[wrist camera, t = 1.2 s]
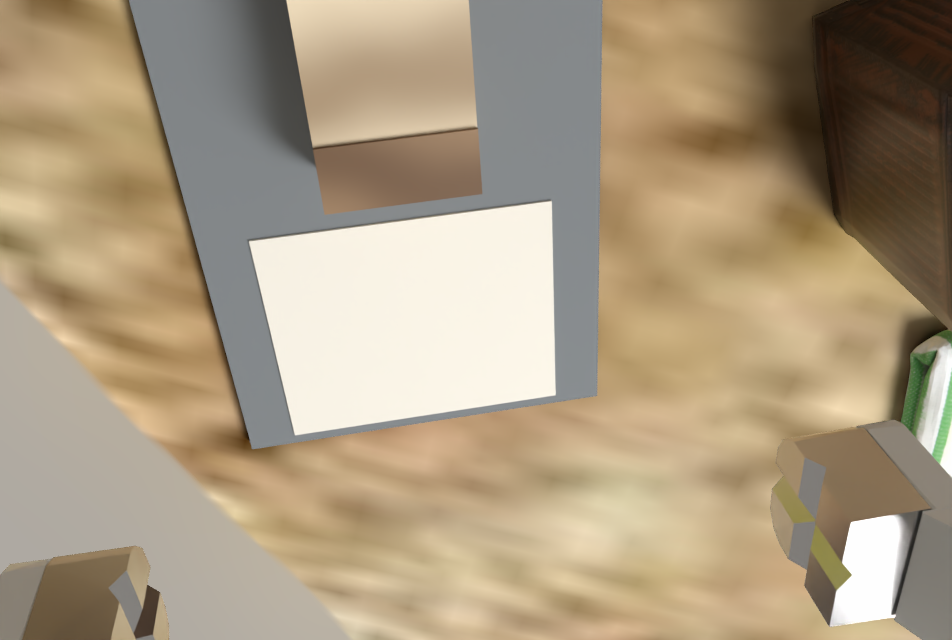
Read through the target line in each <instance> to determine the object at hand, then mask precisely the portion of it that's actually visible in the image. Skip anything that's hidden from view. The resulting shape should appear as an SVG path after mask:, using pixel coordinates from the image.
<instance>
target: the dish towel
mask: <svg viewBox="0 0 952 640" xmlns="http://www.w3.org/2000/svg"><path fill="white" fill-rule="evenodd" d="M910 365H911V368H910V375H909V381H908V387H907V392H906V397H905V402H904V408H903V413H902V418H901V422H900V423H903V424H904V425H905V426H906V427H907V429H908V430H909V431H910V432H911V433H912V434H913V435H914V436H915V437H916V438H917V440H918V441H919V442H920V443H921V444H922V445H923V446H924V447H925V448H926V450H927V451H928V452H929V453H930V454H931V455H932V456H933V457H934V458H935V459H936V461H937V462H938V463H939V464H940V465H941V466H942V467H943V468H944V469H945V471H946V472H947V473H948V474H949V475H950V476H951V477H952V332H951V331H950V330H949V329H947V330H945V331H942V332H940V333H938V334H936V335H934V336H932V337H931V338H929V339H928V340H926V341H925V342H923V343H922V344H920V345H919V346H917V347H916V348H915V349H914V350H913V351H912V353H911V354H910Z"/></svg>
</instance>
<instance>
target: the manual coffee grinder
mask: <svg viewBox="0 0 952 640" xmlns="http://www.w3.org/2000/svg"><path fill="white" fill-rule="evenodd" d="M813 46H814V69H815V76H816V84H817V92H818V99H819V107H820V115H821V122H822V130H823V137H824V145H825V153H826V160H827V168H828V175H829V182H830V189H831V196H832V202H833V209H834V215H835V216H836V218H837V219H838V221H839V223H840V224H841V226H842V228H843V229H844V231H845V232H846V233H847V234H848V235H850V236H852V237H854V238H855V239H856V240H857V241H858V242H859V243H860V244H861V245H862V246H863V247H864V248H865V249H866V250H867V251H868V252H869V253H870V254H871V255H872V256H873V257H874V258H875V259H876V260H877V261H878V262H879V263H880V264H881V265H882V266H883V267H884V268H885V269H886V270H887V271H888V272H890V273H891V274H892V275H893V276H894V277H895V278H896V279H897V280H898V281H899V282H900V283H901V284H902V285H903V286H904V287H905V288H906V289H907V290H908V291H909V292H910V293H911V294H912V295H913V296H914V297H915V298H917V299H918V300H919V301H920V302H921V303H922V304H923V305H924V306H925V307H926V308H927V309H928V310H929V311H930V312H931V313H932V314H933V315H934V316H936V317H937V318H938V319H939V320H940V321H941V322H942V323H943V324H944V325H945V326H946V327H947V328H948V329H949V330H950V331H951V332H952V0H849V1H847V2H844V3H842V4H840V5H838V6H836V7H833V8H831V9H829V10H827V11H825V12H822V13H820V14H818V15H816V16H814V17H813Z"/></svg>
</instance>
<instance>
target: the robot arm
mask: <svg viewBox="0 0 952 640" xmlns="http://www.w3.org/2000/svg"><path fill="white" fill-rule="evenodd" d="M776 464H777V466H778V467H779V469H780V470H781V472H782V473H783V475H784V476H783V477H782V478H781V479H780V480H779V481H778V483H777V484H776V485H775V486H774V487H773V488H772V496H771V506H770V509H771V515H772V521H773V527H774V531H775V533H776V536H777V538H778V541H779V544H780V545H781V547H782V549H783V551H784V552H785V554H786V556H787V558H788V559H789V560H791V561H793V562H794V563H796V564H798V565H800V566H801V567H803V568H805V569H806V570H807V573H806V579H805V585H804V586H805V588H806V589H807V591H808V593H809V594H810V596H811V598H812V599H813V601H814V602H815V604H816V606H817V607H818V609H819V611H820V612H821V614H822V616H823V617H824V619H825V621H826V622H827V624H828V625H829V627H832V626H839V625H845V624H851V623H858V622H864V621H871V620H877V619H883V618H890V617H895V618H894V620H895V621H896V622H897V623H899V624H900V625H902V626H903V627H905V628H906V629H907V630H909V631H910V632H912V633H913V634H915V635H916V636H917V637H919V638H920V639H922V640H952V477H951V476H950V475H949V474H948V473H947V472H946V471H945V469H944V468H943V467H942V466H941V465H940V464H939V463H938V462H937V461H936V459H935V458H934V457H933V456H932V455H931V454H930V453H929V452H928V451H927V450H926V448H925V447H924V446H923V445H922V444H921V443H920V442H919V441H918V440H917V438H916V437H915V436H914V435H913V434H912V433H911V432H910V431H909V430H908V429H907V427H906V426H905V425H904V424H903V423H900V422H898V421H896V420H888V421H883V422H877V423H872V424H866V425H860V426H857V427H851V428H845V429H839V430H834V431H828V432H822V433H816V434H810V435H805V436H799V437H793V438H787V439H783V440H782V442H781V444H780V446H779V447H778V452H777V458H776ZM149 572H150V565H149V563H148V560H147V558H146V556H145V553H144V551H143V549H142V548H140V547H137V546H131V547H124V548H117V549H110V550H102V551H95V552H88V553H82V554H74V555H67V556H60V557H53V558H52V559H47V560H38V561H31V562H23V563H16V564H10V565H9V566H8V567H7V568H6V569H5V570H4V571H3V572H2V574H1V575H0V640H169V623H168V618H167V613H166V608H165V605H164V602H163V599H162V596H161V594H160V592H159V591H157V590H155V589H154V588H152V587H150V586H149V585H147V583H148V577H149Z"/></svg>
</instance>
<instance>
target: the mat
mask: <svg viewBox="0 0 952 640" xmlns="http://www.w3.org/2000/svg"><path fill="white" fill-rule="evenodd" d="M129 3H130V6H131V10H132V14H133V17H134V21H135V25H136V28H137V32H138V36H139V39H140V43H141V46H142V50H143V54H144V57H145V61H146V65H147V68H148V72H149V76H150V79H151V83H152V86H153V90H154V94H155V97H156V101H157V105H158V108H159V112H160V115H161V119H162V123H163V126H164V130H165V134H166V137H167V141H168V145H169V148H170V152H171V155H172V159H173V163H174V166H175V170H176V174H177V177H178V181H179V184H180V188H181V192H182V195H183V199H184V203H185V206H186V210H187V214H188V217H189V221H190V224H191V228H192V232H193V235H194V239H195V243H196V246H197V250H198V253H199V257H200V261H201V264H202V268H203V272H204V275H205V279H206V283H207V286H208V290H209V293H210V297H211V301H212V304H213V308H214V312H215V315H216V319H217V322H218V326H219V330H220V333H221V337H222V341H223V344H224V348H225V352H226V355H227V359H228V362H229V366H230V370H231V373H232V377H233V381H234V384H235V388H236V392H237V395H238V399H239V402H240V406H241V410H242V413H243V417H244V421H245V424H246V428H247V431H248V435H249V439H250V442H251V446H252V449H257V448H263V447H270V446H276V445H282V444H289V443H295V442H302V441H308V440H315V439H321V438H328V437H334V436H341V435H347V434H354V433H360V432H366V431H373V430H379V429H386V428H392V427H399V426H405V425H412V424H418V423H425V422H431V421H438V420H444V419H450V418H457V417H463V416H470V415H476V414H483V413H489V412H496V411H502V410H509V409H515V408H522V407H528V406H534V405H541V404H547V403H554V402H560V401H567V400H573V399H580V398H586V397H593V396H597V363H598V288H599V213H600V139H601V64H602V0H469V12H470V27H471V41H472V56H473V71H474V85H475V100H476V115H477V128H478V135H479V150H480V165H481V180H482V194H479V195H472V196H464V197H457V198H449V199H441V200H434V201H426V202H419V203H411V204H403V205H396V206H388V207H381V208H373V209H365V210H358V211H350V212H343V213H335V214H327V215H325V214H324V209H323V203H322V198H321V192H320V187H319V181H318V175H317V170H316V164H315V159H314V153H313V146H312V140H311V135H310V129H309V124H308V118H307V113H306V107H305V101H304V96H303V90H302V85H301V79H300V73H299V68H298V62H297V57H296V51H295V46H294V40H293V34H292V29H291V23H290V18H289V12H288V7H287V1H286V0H129Z"/></svg>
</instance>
